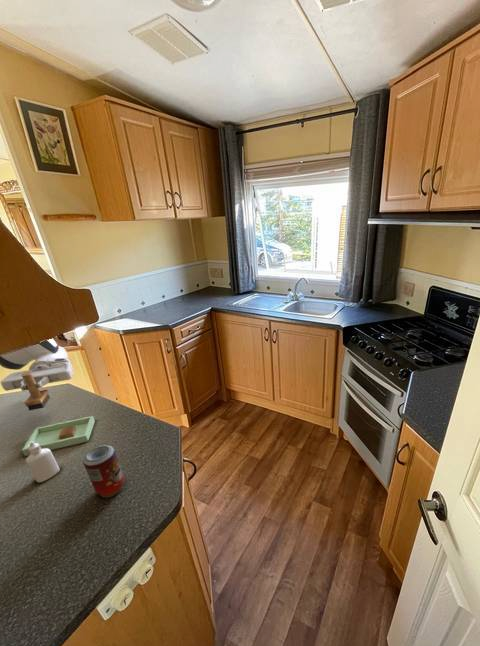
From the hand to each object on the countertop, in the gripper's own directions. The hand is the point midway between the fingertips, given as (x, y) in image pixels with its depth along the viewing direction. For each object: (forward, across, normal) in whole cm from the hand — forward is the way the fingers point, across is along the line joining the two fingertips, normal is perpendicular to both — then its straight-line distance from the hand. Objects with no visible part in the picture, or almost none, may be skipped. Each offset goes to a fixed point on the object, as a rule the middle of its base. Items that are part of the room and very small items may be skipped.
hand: (31, 387), depth 95 cm
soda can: (+38, +25, +17) cm, 48 cm away
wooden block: (+8, +8, +16) cm, 19 cm away
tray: (+8, +6, +17) cm, 19 cm away
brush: (-1, 0, +7) cm, 7 cm away
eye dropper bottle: (+26, +7, +17) cm, 31 cm away
